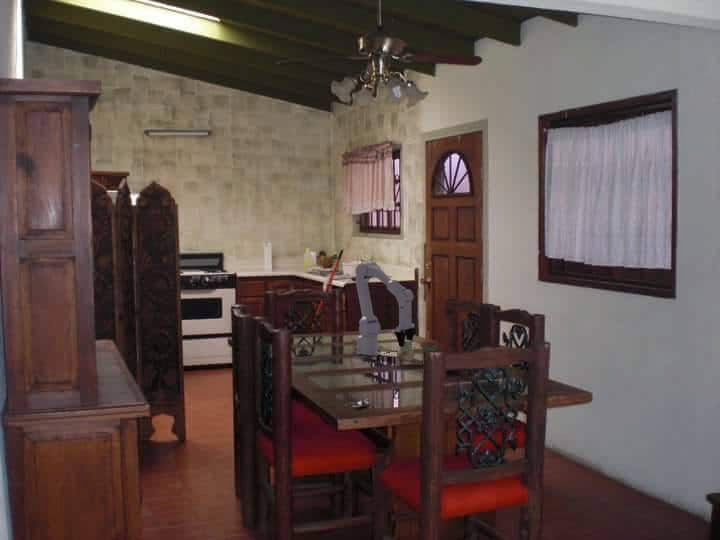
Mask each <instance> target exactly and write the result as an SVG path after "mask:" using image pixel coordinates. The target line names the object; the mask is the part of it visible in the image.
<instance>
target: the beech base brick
mask: <svg viewBox="0 0 720 540" xmlns="http://www.w3.org/2000/svg"><path fill="white" fill-rule="evenodd" d="M414 359H415V350H412V351H411V352H400V350H398V351H397V357H396V360H397V361H402V362H403V361H405V362H410V361H413V360H414Z"/></svg>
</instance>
